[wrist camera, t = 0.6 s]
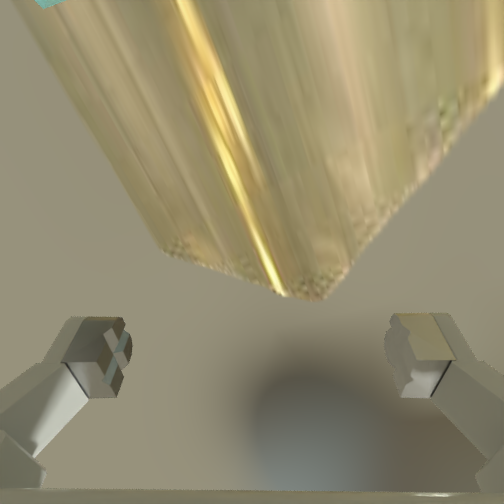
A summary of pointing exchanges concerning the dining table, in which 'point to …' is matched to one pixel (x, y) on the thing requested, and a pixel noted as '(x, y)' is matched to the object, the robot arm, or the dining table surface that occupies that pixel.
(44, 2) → the long teal bar
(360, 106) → the dining table surface
